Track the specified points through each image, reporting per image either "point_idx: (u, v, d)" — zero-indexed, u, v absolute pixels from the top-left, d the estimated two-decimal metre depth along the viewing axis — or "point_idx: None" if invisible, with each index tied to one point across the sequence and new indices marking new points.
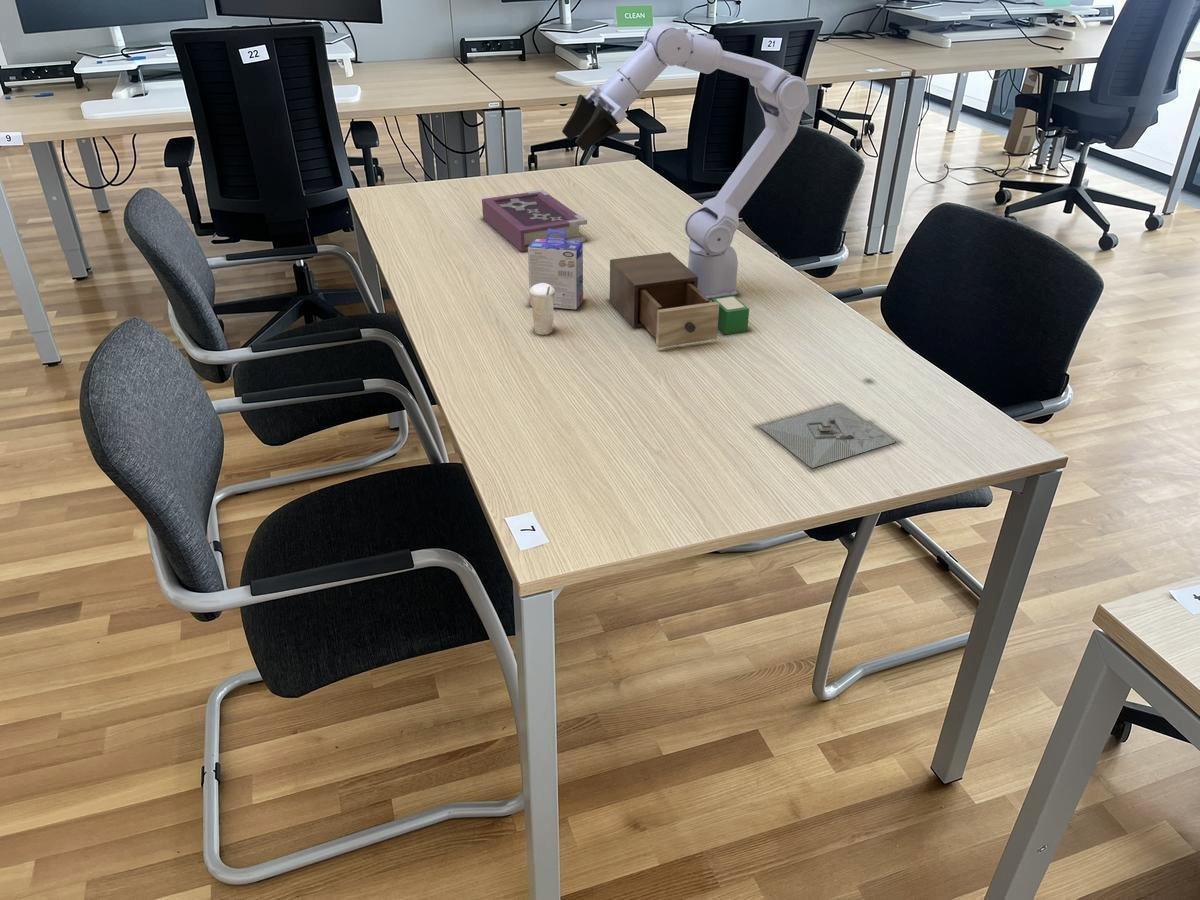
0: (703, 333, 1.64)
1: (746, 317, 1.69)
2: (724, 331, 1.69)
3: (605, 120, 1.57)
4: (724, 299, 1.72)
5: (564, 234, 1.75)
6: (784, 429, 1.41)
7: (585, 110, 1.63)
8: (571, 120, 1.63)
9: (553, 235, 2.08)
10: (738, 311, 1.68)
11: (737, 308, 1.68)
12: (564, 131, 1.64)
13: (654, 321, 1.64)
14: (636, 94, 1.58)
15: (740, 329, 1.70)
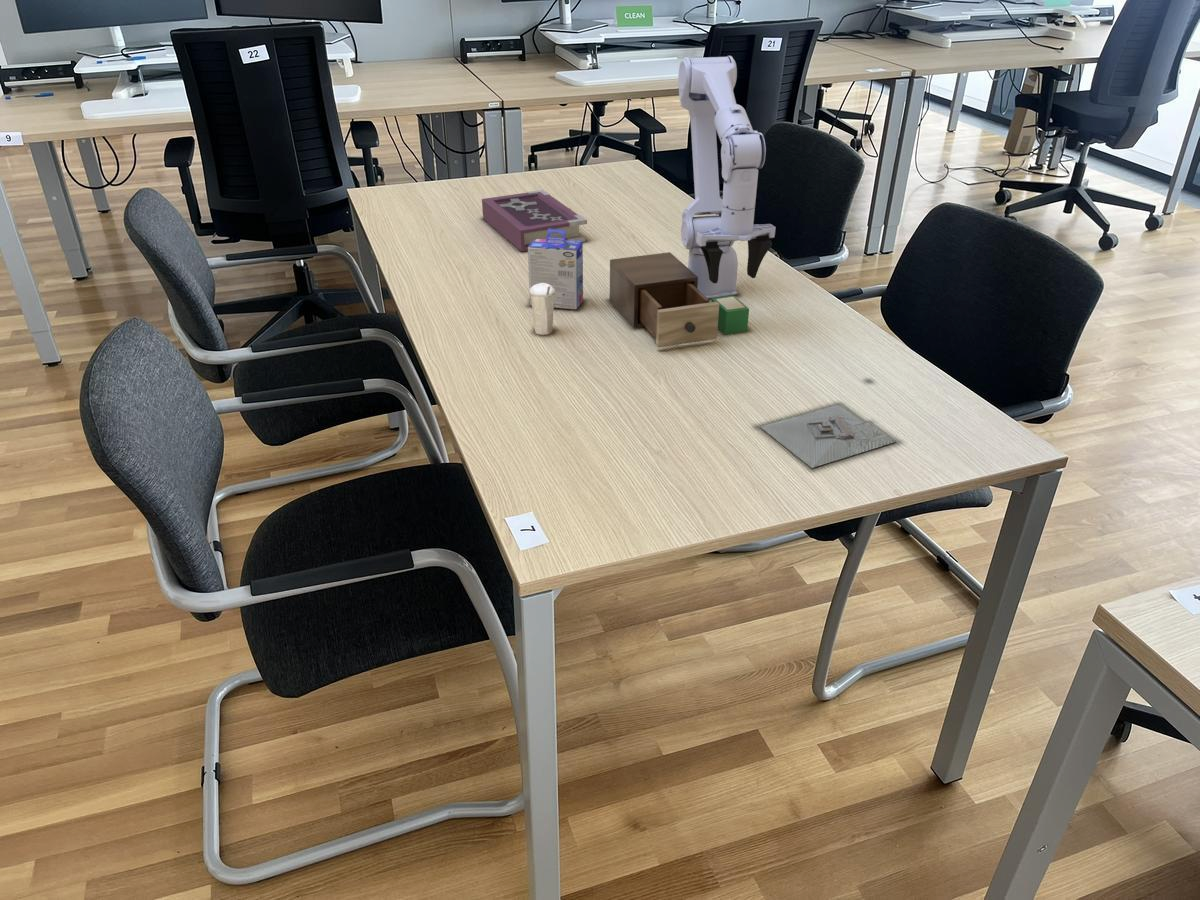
0: (703, 333, 1.64)
1: (746, 317, 1.69)
2: (724, 331, 1.69)
3: None
4: (724, 299, 1.72)
5: (564, 234, 1.75)
6: (784, 429, 1.41)
7: None
8: None
9: (553, 235, 2.08)
10: (738, 311, 1.68)
11: (737, 308, 1.68)
12: None
13: (654, 321, 1.64)
14: None
15: (740, 329, 1.70)
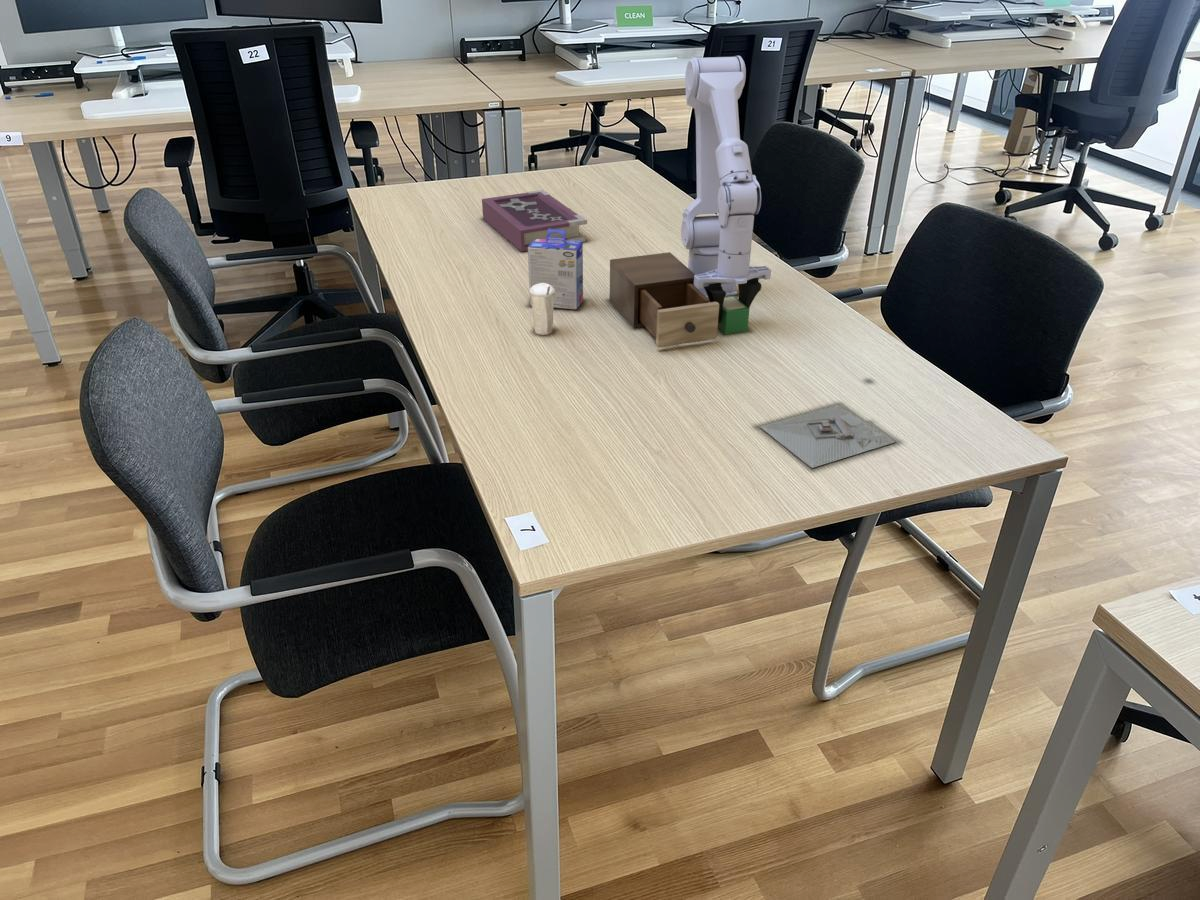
0: (703, 333, 1.64)
1: (746, 317, 1.69)
2: (724, 331, 1.69)
3: None
4: (724, 299, 1.72)
5: (564, 234, 1.75)
6: (784, 429, 1.41)
7: None
8: (721, 310, 1.69)
9: (553, 235, 2.08)
10: (738, 311, 1.68)
11: (737, 308, 1.68)
12: None
13: (654, 321, 1.64)
14: None
15: (740, 329, 1.70)
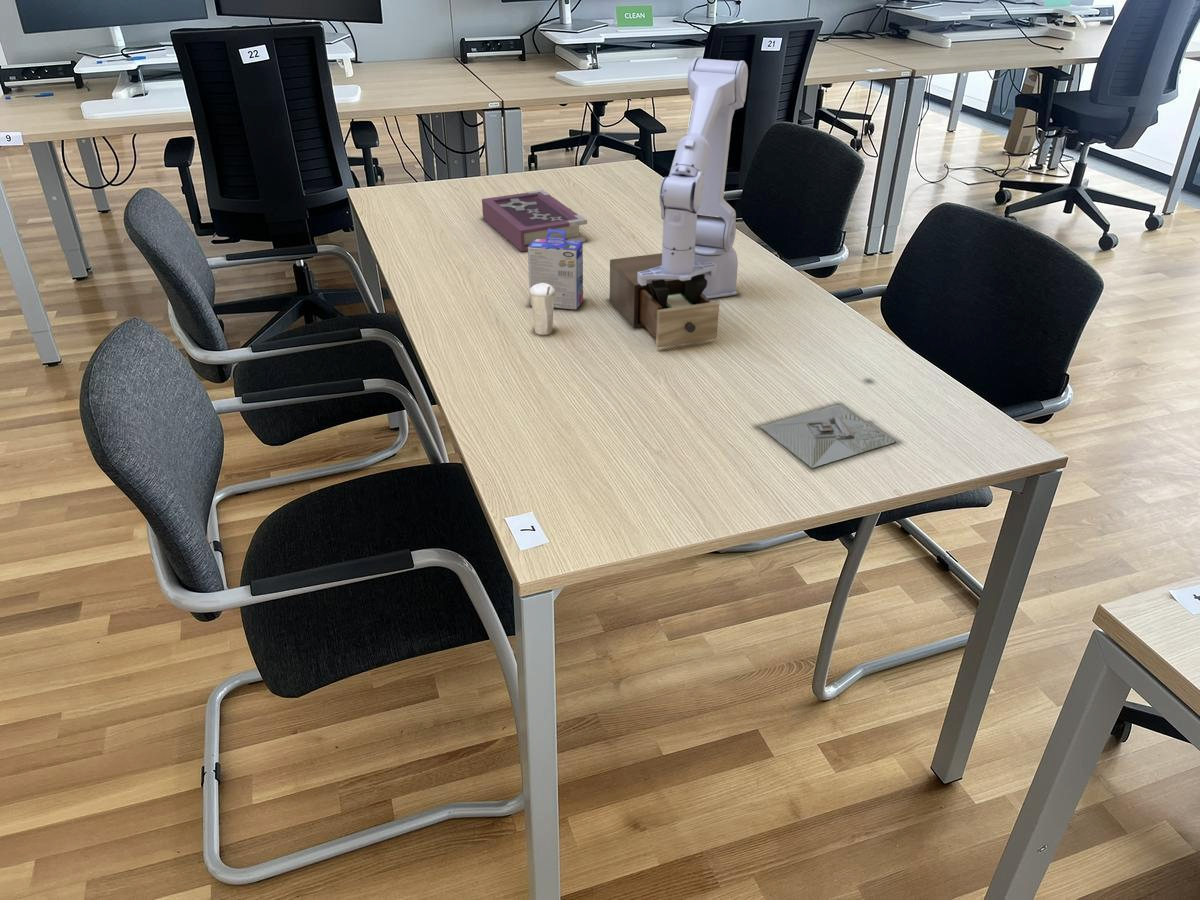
0: (703, 333, 1.64)
1: None
2: None
3: None
4: (670, 297, 1.67)
5: (564, 234, 1.75)
6: (784, 429, 1.41)
7: None
8: (665, 308, 1.65)
9: (553, 235, 2.08)
10: None
11: None
12: None
13: (654, 321, 1.64)
14: None
15: None
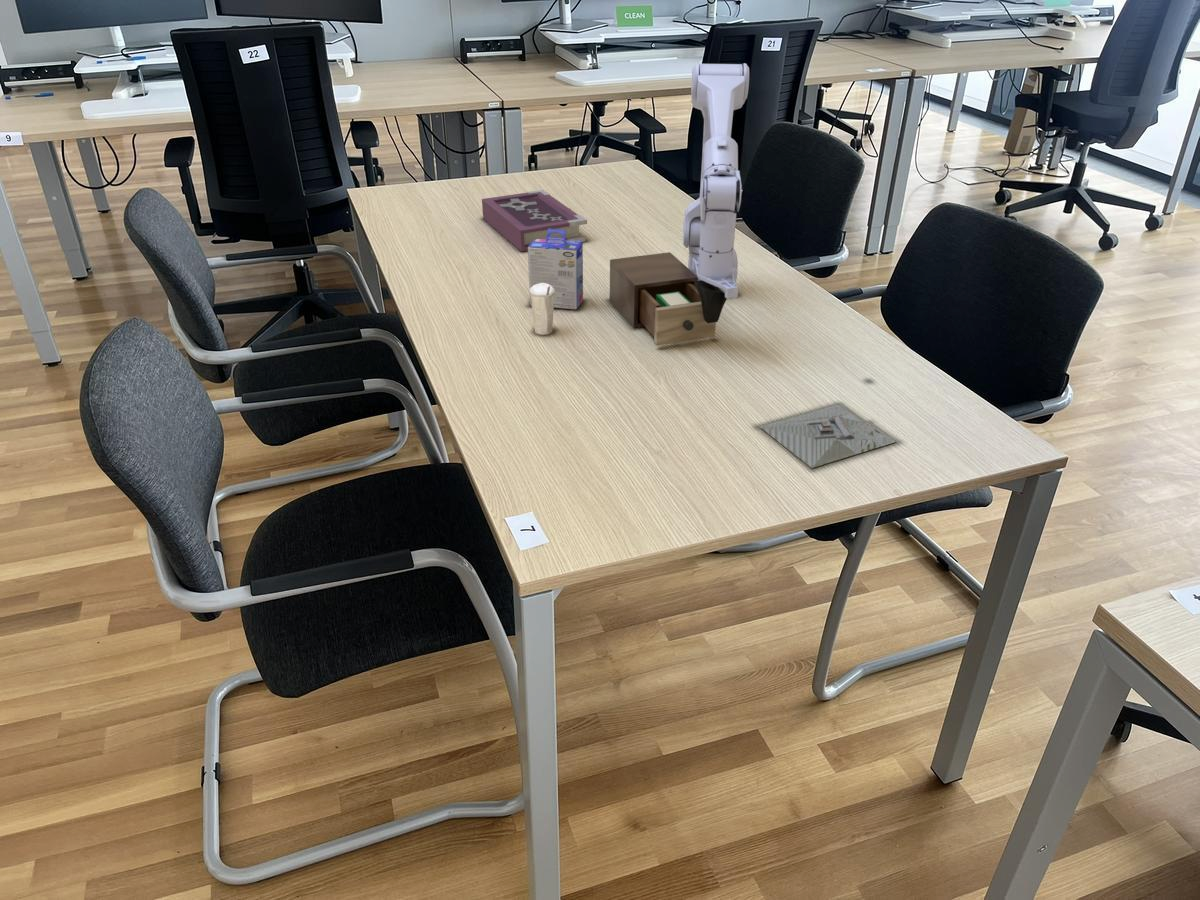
0: (701, 331, 1.65)
1: None
2: None
3: None
4: (668, 295, 1.68)
5: (564, 234, 1.75)
6: (784, 429, 1.41)
7: None
8: None
9: (553, 235, 2.08)
10: None
11: None
12: None
13: (652, 319, 1.65)
14: None
15: None
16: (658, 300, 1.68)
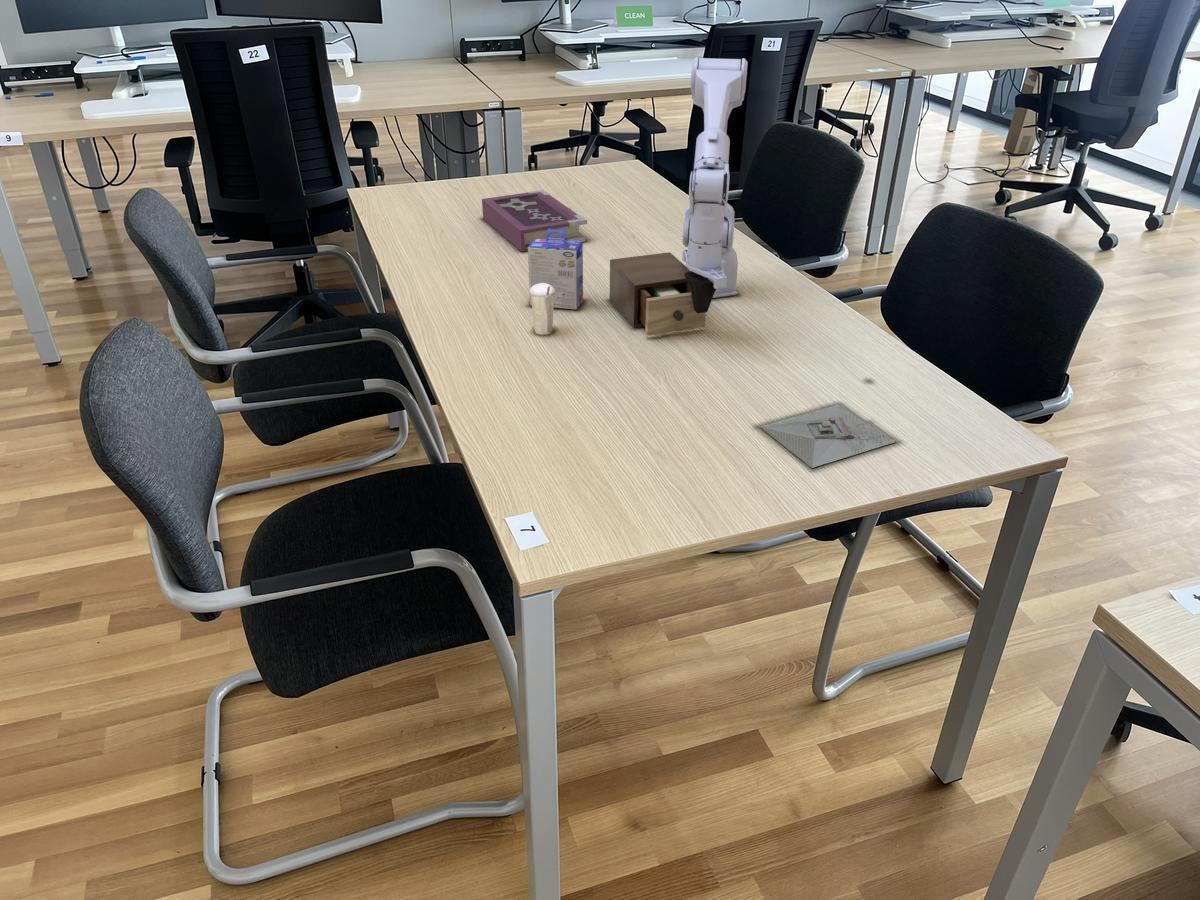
0: (691, 322, 1.68)
1: None
2: None
3: None
4: (659, 286, 1.72)
5: (564, 234, 1.75)
6: (784, 429, 1.41)
7: None
8: None
9: (553, 235, 2.08)
10: None
11: None
12: None
13: (643, 310, 1.68)
14: None
15: None
16: (649, 291, 1.71)
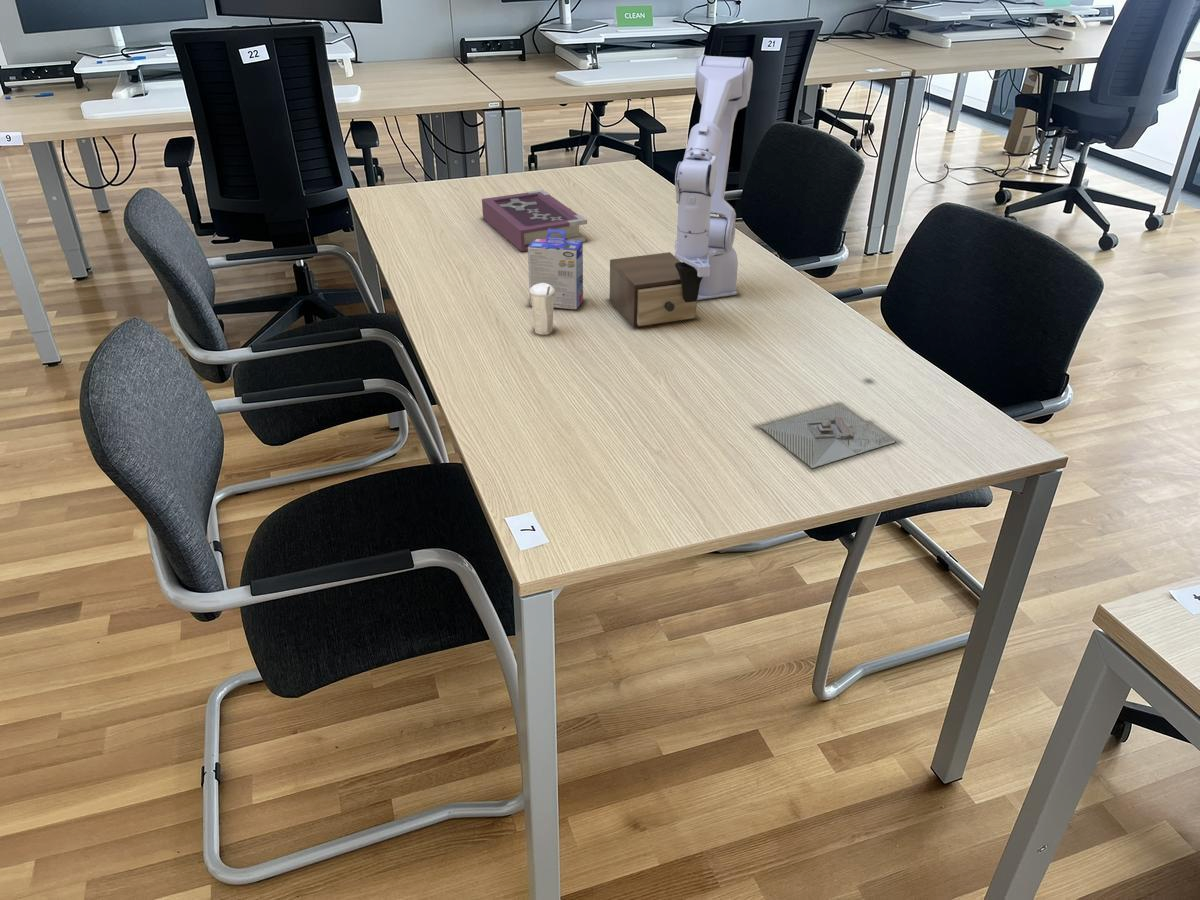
0: (682, 313, 1.72)
1: None
2: None
3: None
4: None
5: (564, 234, 1.75)
6: (784, 429, 1.41)
7: None
8: None
9: (553, 235, 2.08)
10: None
11: None
12: None
13: None
14: None
15: None
16: None
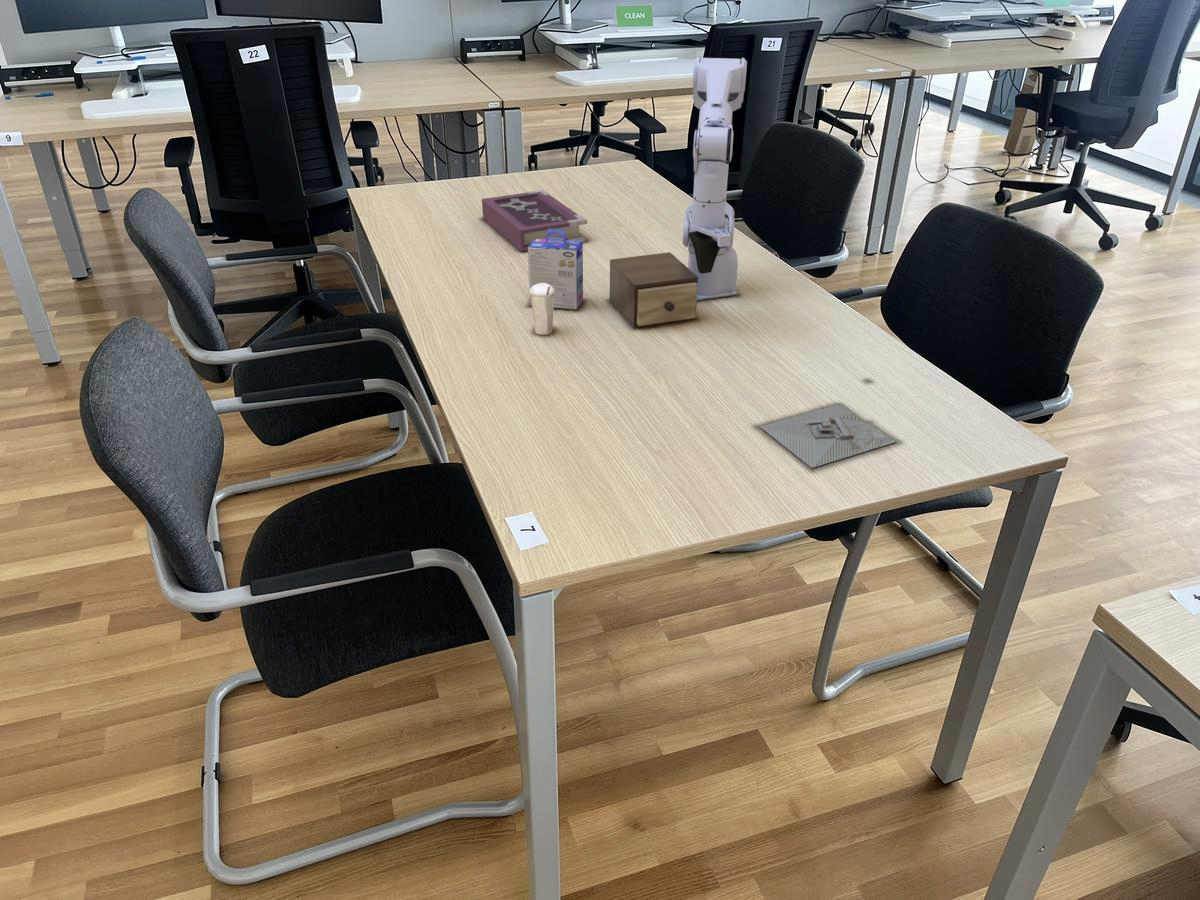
0: (682, 313, 1.72)
1: None
2: None
3: None
4: None
5: (564, 234, 1.75)
6: (784, 429, 1.41)
7: None
8: None
9: (553, 235, 2.08)
10: None
11: None
12: None
13: None
14: None
15: None
16: None
